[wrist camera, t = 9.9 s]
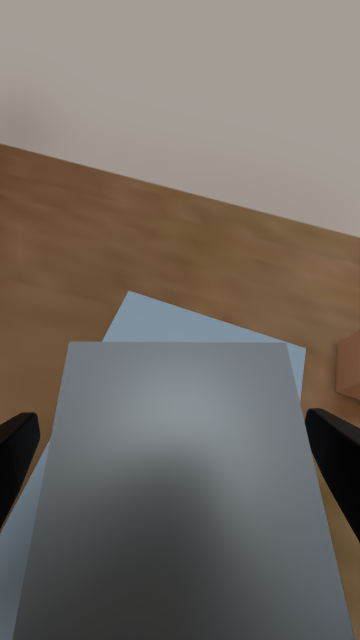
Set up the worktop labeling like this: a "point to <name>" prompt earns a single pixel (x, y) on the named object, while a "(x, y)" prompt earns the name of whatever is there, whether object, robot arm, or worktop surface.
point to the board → (15, 538)
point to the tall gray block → (180, 502)
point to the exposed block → (349, 367)
